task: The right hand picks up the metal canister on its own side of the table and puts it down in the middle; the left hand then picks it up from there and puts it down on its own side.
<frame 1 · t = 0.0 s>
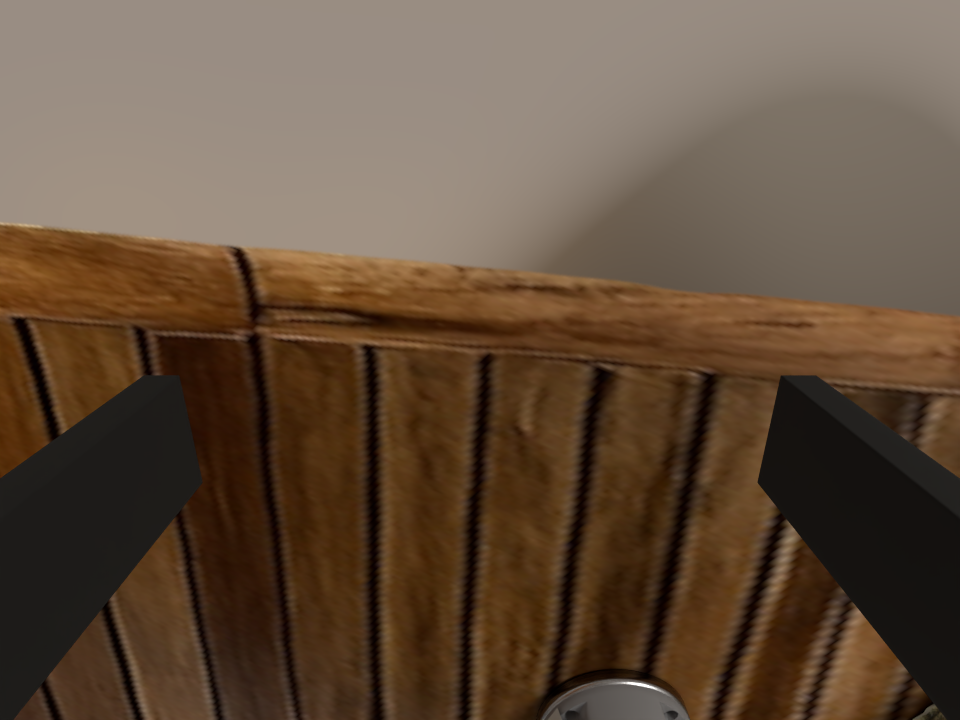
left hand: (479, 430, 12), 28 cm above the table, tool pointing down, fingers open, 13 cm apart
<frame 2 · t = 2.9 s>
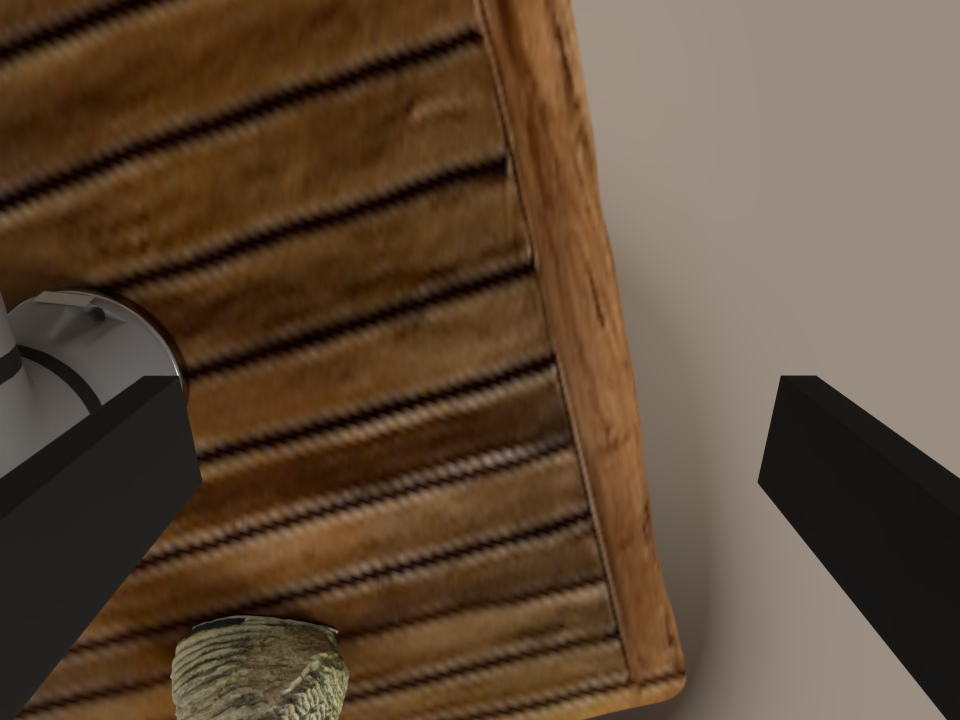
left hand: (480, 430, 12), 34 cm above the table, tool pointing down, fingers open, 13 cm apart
fossil: (273, 638, 61), on the table
when the right hand's fingers open (3 cm above the table, at t = 9.1 s): canister stays where it is, on the table.
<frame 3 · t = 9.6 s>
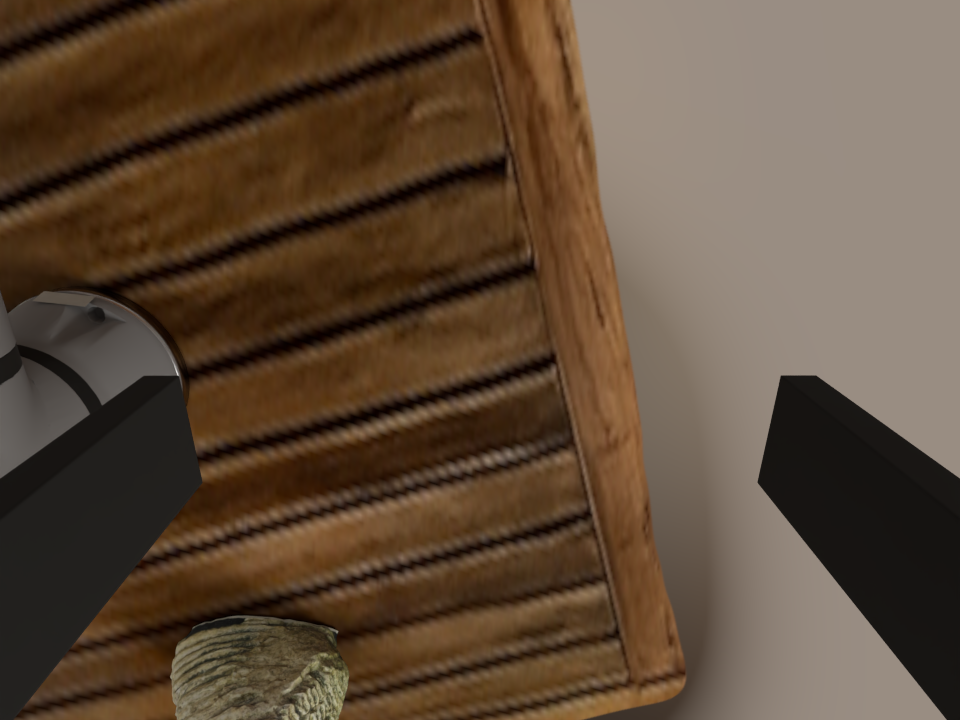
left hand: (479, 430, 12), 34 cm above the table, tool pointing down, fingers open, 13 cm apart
fossil: (273, 638, 61), on the table
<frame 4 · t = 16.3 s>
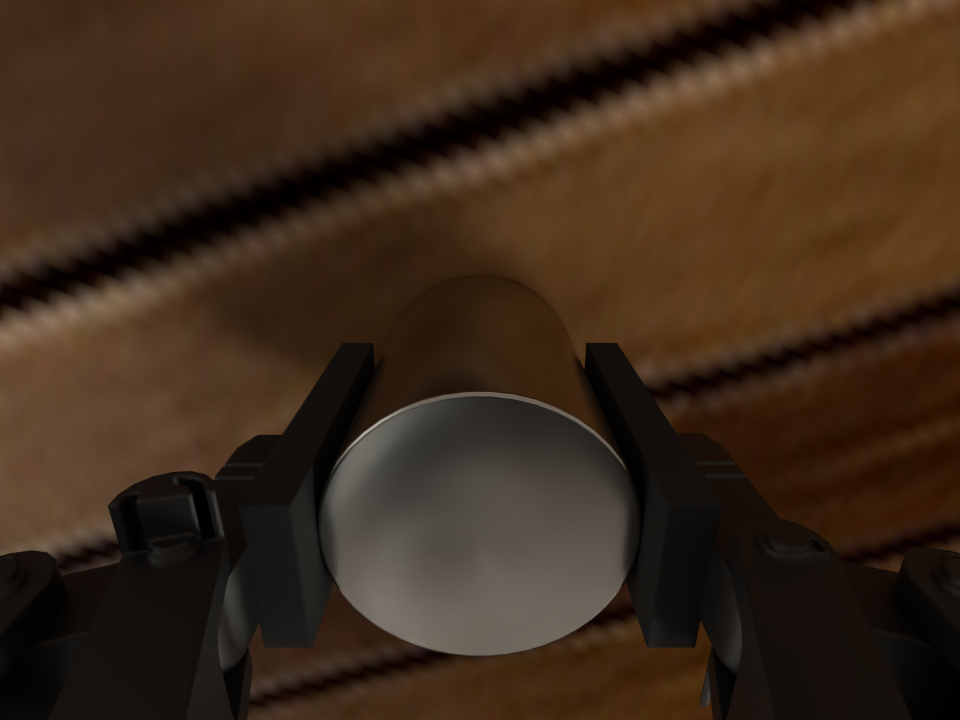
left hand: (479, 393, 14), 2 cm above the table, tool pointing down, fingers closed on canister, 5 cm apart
canister: (479, 367, 16), on the table, touching left hand
when the left hand's fingers open (3 cm above the table, at t = 23.6 s): canister stays where it is, on the table.
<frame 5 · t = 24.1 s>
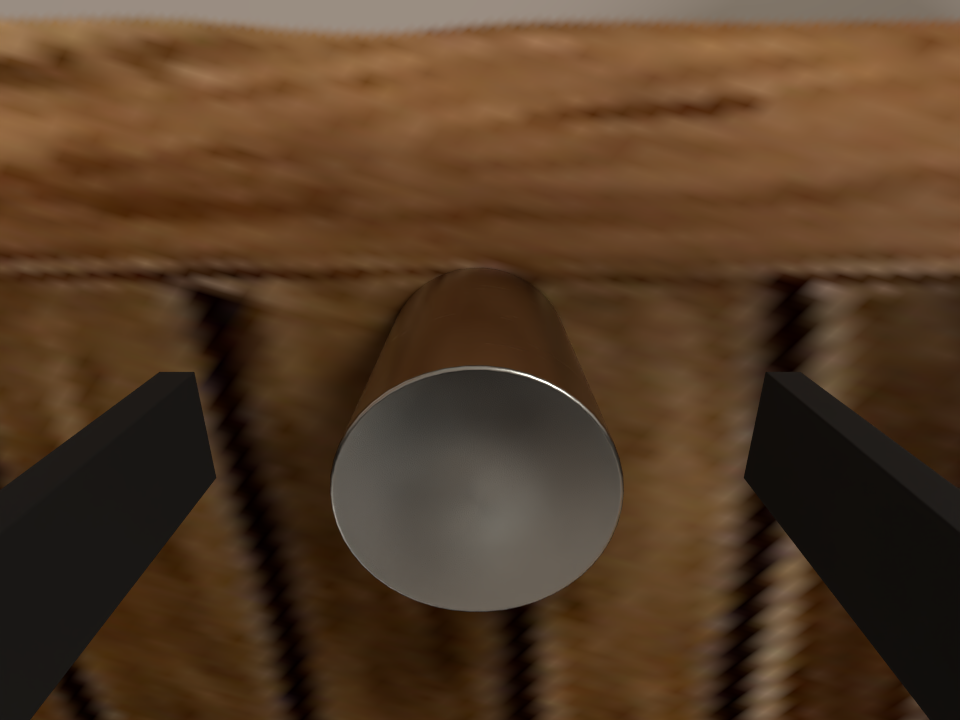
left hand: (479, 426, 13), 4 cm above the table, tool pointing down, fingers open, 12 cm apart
canister: (478, 354, 17), on the table
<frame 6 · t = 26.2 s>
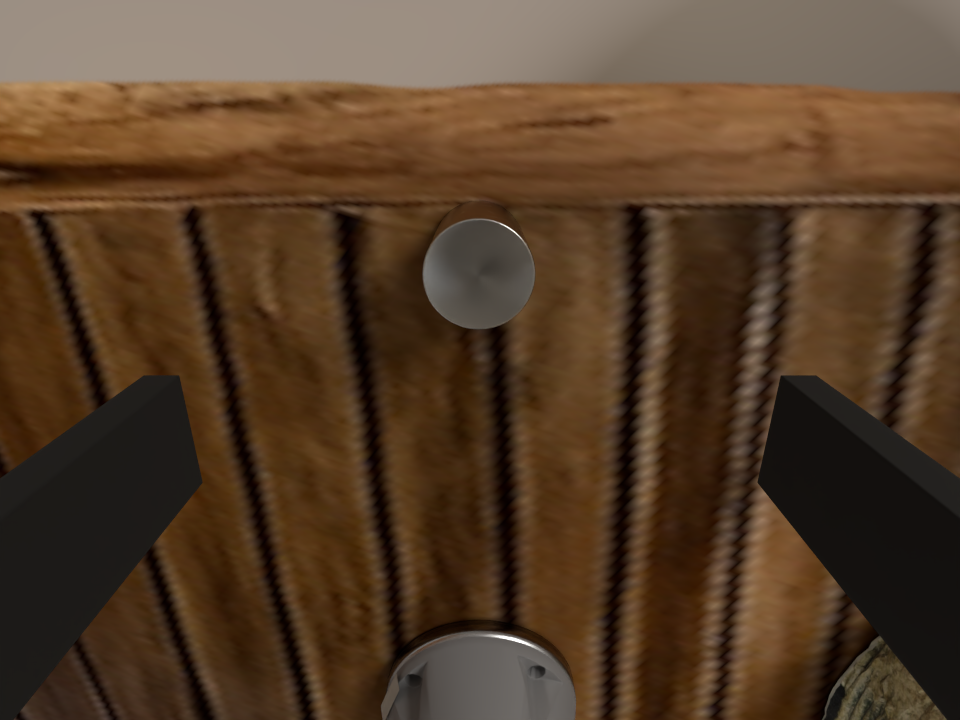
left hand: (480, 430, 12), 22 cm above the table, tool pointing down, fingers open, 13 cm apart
fossil: (890, 666, 46), on the table
canister: (479, 247, 33), on the table
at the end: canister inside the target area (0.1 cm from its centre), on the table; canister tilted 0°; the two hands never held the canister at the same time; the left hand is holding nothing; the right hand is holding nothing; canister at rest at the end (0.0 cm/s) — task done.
